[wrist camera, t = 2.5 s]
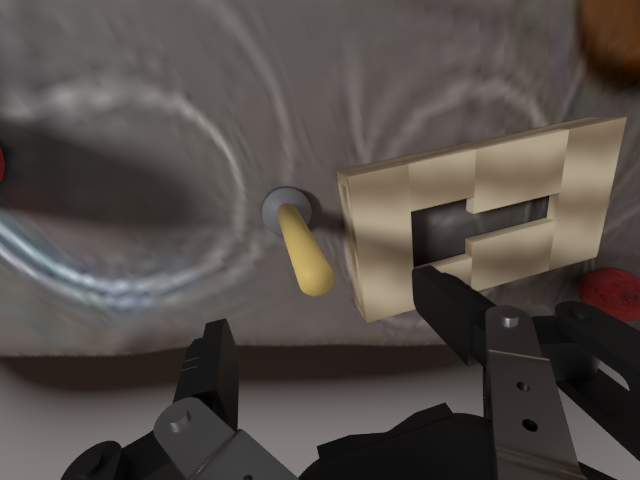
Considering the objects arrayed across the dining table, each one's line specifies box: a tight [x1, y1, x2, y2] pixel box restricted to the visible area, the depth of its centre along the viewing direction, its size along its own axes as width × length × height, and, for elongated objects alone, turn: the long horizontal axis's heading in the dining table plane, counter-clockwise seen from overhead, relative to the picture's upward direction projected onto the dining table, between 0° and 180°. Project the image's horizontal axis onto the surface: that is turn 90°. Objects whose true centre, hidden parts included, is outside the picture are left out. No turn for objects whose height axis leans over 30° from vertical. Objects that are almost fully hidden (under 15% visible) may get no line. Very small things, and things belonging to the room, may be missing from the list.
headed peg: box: [262, 186, 335, 296], centre depth 21 cm, size 4×4×13 cm
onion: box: [578, 268, 640, 321], centre depth 35 cm, size 6×6×8 cm
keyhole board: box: [336, 117, 627, 323], centre depth 30 cm, size 14×26×3 cm, turn 100°
